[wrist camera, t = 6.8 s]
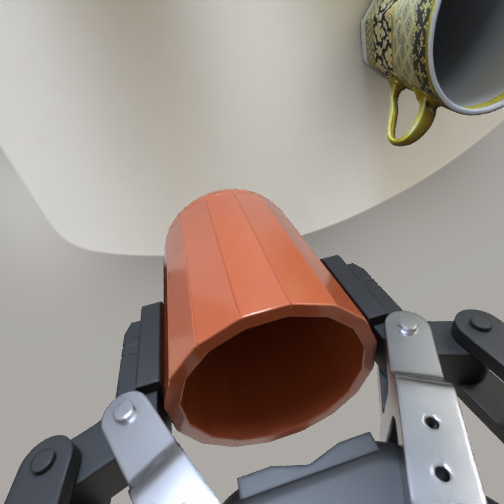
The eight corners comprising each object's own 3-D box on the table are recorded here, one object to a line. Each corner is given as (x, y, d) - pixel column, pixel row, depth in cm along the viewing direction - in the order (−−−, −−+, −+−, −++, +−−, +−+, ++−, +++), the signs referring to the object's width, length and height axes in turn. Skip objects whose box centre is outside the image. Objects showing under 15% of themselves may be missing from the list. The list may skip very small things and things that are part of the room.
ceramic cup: (396, -98, 20) (552, -203, 12) (476, -2, 24) (632, -31, 16) (296, 96, 25) (358, 115, 17) (377, 147, 29) (458, 182, 21)
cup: (184, 310, 17) (197, 467, 11) (145, 206, 13) (129, 349, 7) (292, 280, 18) (367, 409, 11) (285, 175, 14) (388, 276, 8)
